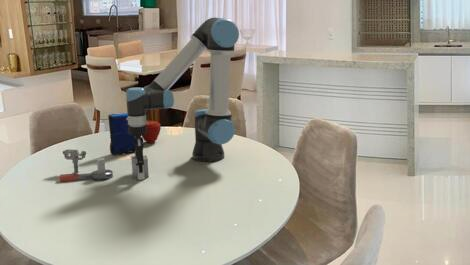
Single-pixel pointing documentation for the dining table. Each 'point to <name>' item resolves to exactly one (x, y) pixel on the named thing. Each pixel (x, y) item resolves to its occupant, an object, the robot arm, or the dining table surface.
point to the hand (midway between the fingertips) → (140, 175)
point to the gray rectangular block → (134, 167)
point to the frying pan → (90, 174)
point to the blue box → (120, 134)
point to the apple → (152, 131)
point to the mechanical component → (74, 157)
